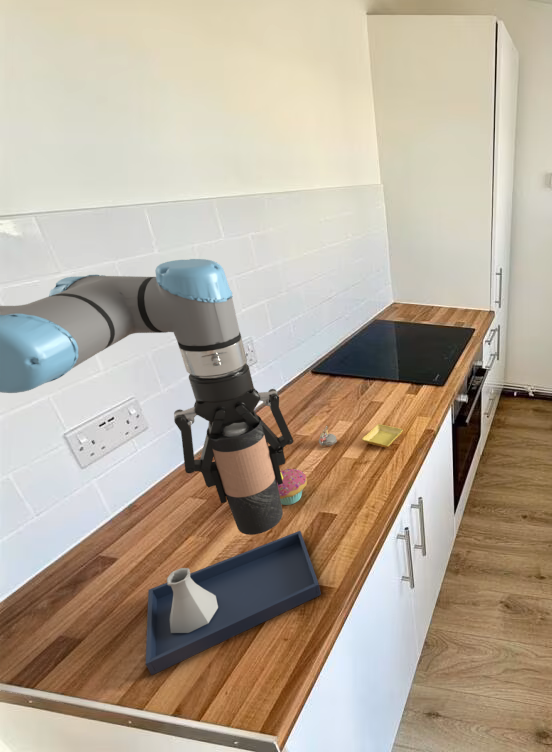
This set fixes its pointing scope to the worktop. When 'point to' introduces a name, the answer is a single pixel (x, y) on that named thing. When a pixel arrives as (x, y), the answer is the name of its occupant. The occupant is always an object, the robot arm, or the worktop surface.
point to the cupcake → (291, 486)
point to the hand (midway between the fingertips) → (252, 488)
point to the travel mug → (248, 477)
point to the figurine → (327, 438)
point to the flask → (189, 603)
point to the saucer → (382, 435)
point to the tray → (233, 599)
